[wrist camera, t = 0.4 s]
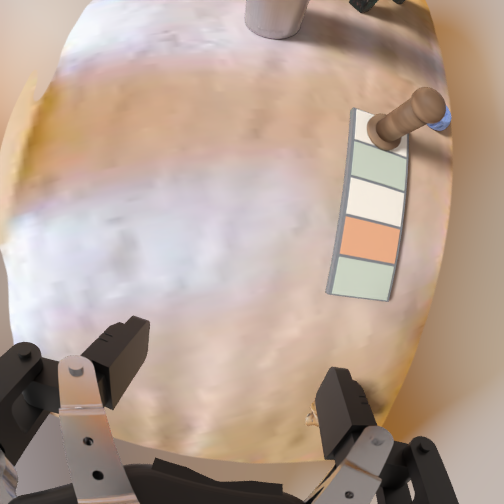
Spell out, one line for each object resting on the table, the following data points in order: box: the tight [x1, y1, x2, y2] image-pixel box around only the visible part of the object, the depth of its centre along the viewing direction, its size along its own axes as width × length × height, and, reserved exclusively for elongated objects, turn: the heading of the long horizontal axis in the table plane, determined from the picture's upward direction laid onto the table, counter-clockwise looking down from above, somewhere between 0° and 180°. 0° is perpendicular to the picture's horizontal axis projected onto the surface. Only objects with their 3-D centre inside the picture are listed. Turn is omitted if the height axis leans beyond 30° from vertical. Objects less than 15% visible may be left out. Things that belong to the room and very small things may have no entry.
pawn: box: [367, 87, 446, 151], centre depth 27 cm, size 6×6×14 cm
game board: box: [325, 108, 409, 302], centre depth 36 cm, size 27×10×1 cm, turn 170°
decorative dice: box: [427, 106, 451, 131], centre depth 34 cm, size 4×4×4 cm
